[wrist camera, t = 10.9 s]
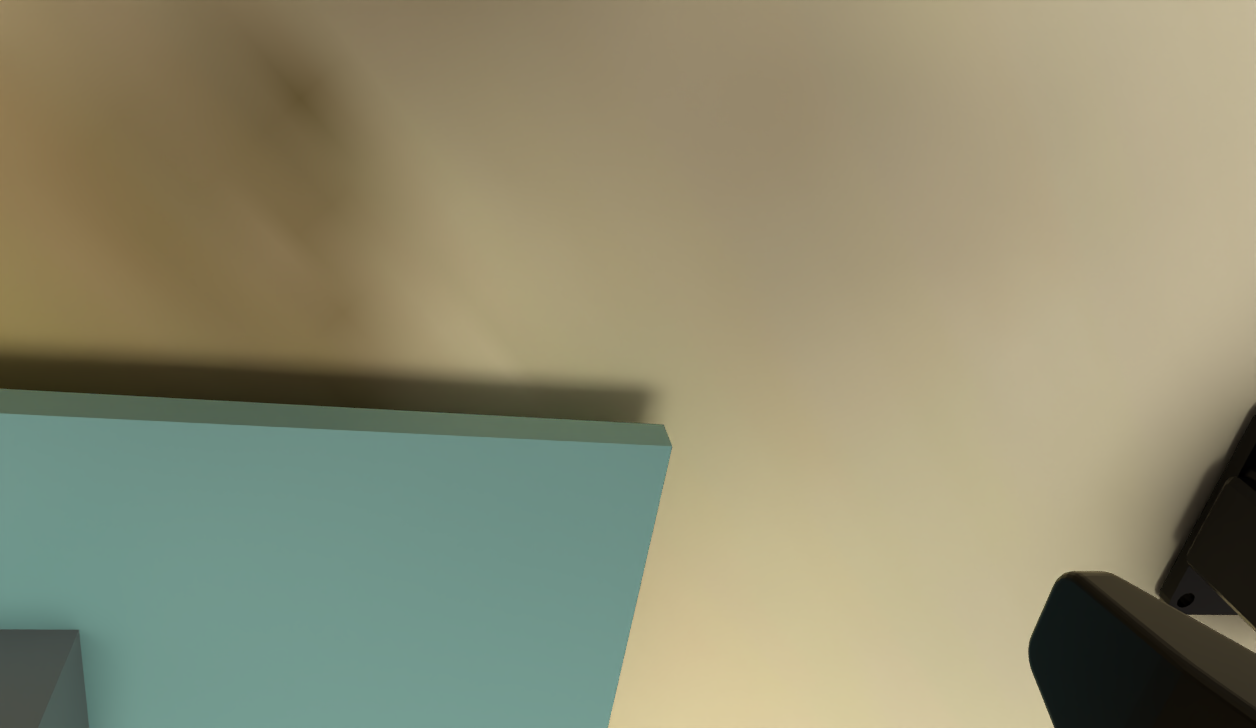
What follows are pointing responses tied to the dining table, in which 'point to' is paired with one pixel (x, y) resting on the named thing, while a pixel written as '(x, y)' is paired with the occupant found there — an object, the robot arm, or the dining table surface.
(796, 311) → the dining table surface
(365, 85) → the dining table surface
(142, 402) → the lid
